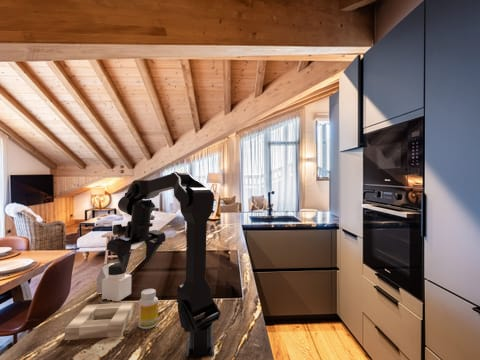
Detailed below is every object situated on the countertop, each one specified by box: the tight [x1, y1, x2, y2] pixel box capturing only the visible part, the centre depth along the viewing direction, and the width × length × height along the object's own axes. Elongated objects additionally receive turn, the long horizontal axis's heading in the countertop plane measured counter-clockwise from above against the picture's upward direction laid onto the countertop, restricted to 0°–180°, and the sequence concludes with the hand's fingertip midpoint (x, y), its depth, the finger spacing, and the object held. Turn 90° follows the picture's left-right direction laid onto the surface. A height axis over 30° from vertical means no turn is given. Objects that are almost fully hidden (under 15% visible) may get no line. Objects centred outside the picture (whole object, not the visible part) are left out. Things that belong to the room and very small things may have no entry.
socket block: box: [64, 301, 135, 341], centre depth 77 cm, size 14×14×3 cm
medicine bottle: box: [101, 261, 132, 302], centre depth 97 cm, size 7×7×12 cm
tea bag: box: [96, 262, 113, 294], centre depth 102 cm, size 4×7×10 cm, turn 177°
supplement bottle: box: [137, 288, 159, 330], centre depth 77 cm, size 5×5×10 cm
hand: (136, 266), depth 86 cm, fingers open, 9 cm apart
